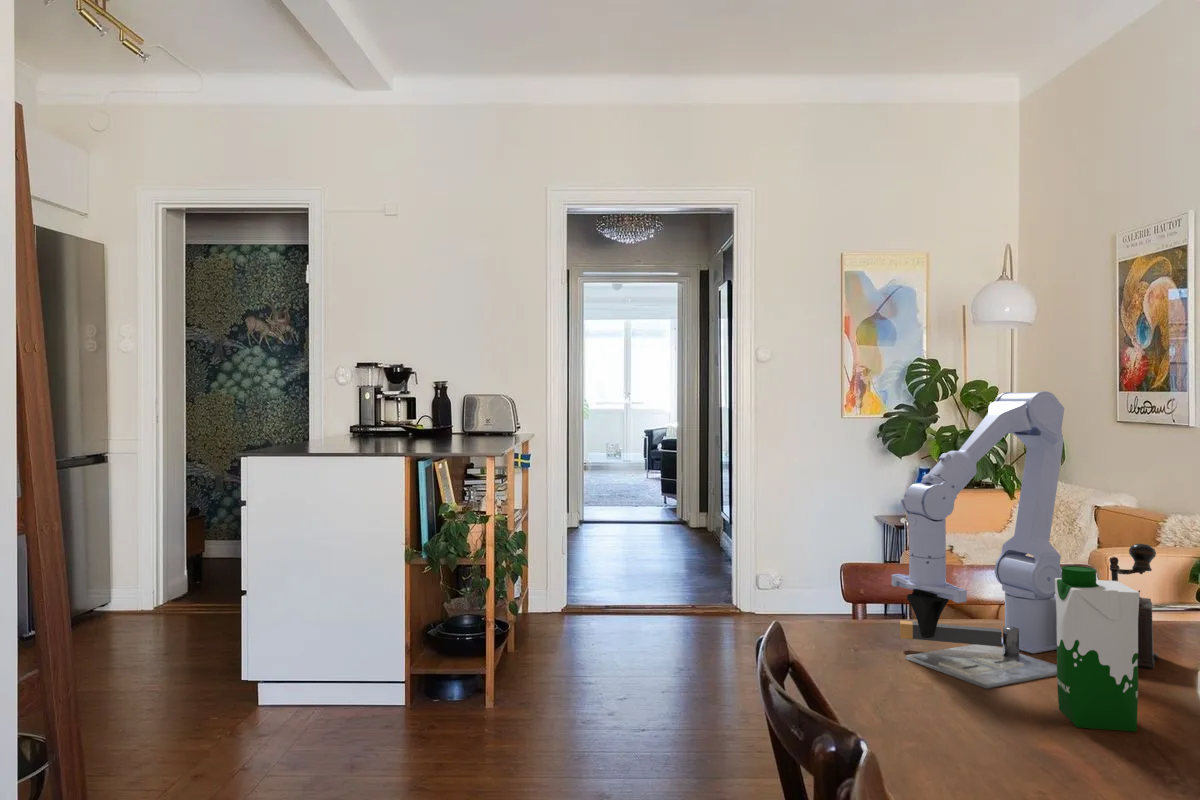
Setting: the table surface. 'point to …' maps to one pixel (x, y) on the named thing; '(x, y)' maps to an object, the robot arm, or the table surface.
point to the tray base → (987, 662)
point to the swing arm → (954, 634)
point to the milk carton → (1097, 650)
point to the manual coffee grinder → (1141, 603)
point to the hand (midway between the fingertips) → (927, 637)
